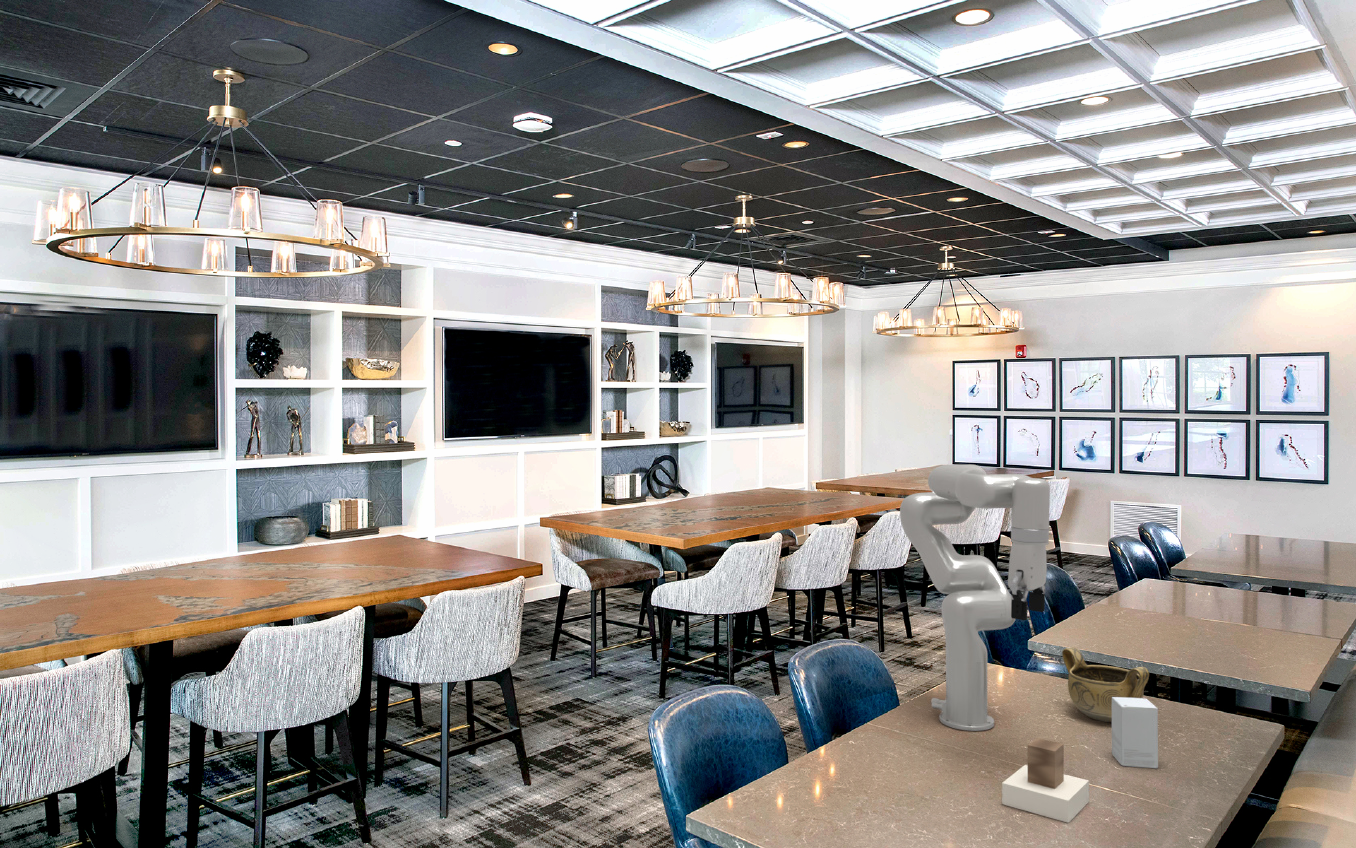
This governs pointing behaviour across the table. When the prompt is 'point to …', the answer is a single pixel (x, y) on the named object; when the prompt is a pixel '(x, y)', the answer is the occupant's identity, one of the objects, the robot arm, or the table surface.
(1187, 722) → the table surface
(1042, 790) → the base
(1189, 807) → the table surface
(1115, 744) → the supplement box
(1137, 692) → the ceramic bowl
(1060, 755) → the walnut block
